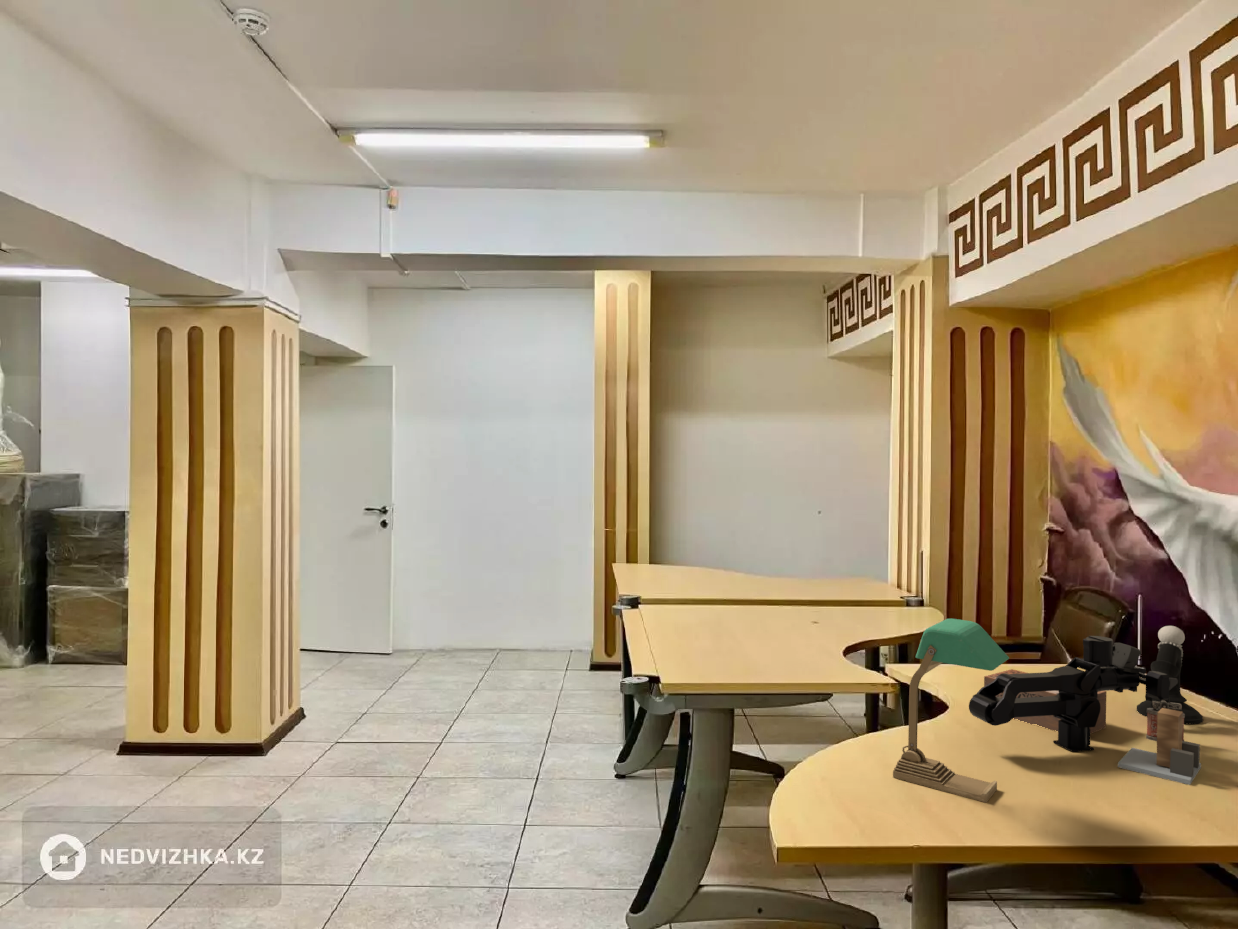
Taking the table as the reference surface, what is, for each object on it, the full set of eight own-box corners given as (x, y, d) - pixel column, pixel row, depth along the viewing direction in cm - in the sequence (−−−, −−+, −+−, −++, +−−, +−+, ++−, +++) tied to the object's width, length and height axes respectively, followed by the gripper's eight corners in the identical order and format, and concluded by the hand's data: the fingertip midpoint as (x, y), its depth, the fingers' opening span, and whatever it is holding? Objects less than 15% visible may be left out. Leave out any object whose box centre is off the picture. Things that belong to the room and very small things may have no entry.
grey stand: (1117, 767, 183) (1118, 741, 183) (1131, 751, 193) (1132, 727, 193) (1189, 785, 173) (1190, 757, 173) (1200, 767, 183) (1201, 742, 183)
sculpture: (1207, 716, 221) (1209, 627, 221) (1190, 736, 205) (1192, 640, 205) (1143, 703, 232) (1145, 618, 232) (1122, 721, 216) (1124, 630, 215)
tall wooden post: (1156, 764, 182) (1157, 712, 181) (1161, 758, 185) (1162, 707, 185) (1177, 769, 179) (1178, 716, 179) (1181, 763, 182) (1182, 711, 182)
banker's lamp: (911, 761, 185) (914, 612, 184) (1008, 786, 171) (1011, 625, 171) (886, 782, 172) (889, 622, 172) (988, 810, 159) (992, 637, 159)
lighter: (1146, 740, 202) (1147, 700, 201) (1145, 735, 205) (1146, 697, 204) (1185, 745, 198) (1186, 705, 198) (1183, 741, 201) (1184, 702, 201)
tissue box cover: (983, 711, 223) (984, 676, 223) (1011, 703, 232) (1011, 669, 232) (1079, 739, 202) (1079, 700, 202) (1105, 728, 210) (1106, 691, 210)
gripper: (1140, 655, 188) (1195, 653, 191) (1080, 638, 207) (1131, 636, 210) (1139, 702, 188) (1194, 699, 192) (1079, 680, 207) (1130, 678, 210)
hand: (1161, 676), depth 201 cm, fingers open, 9 cm apart
